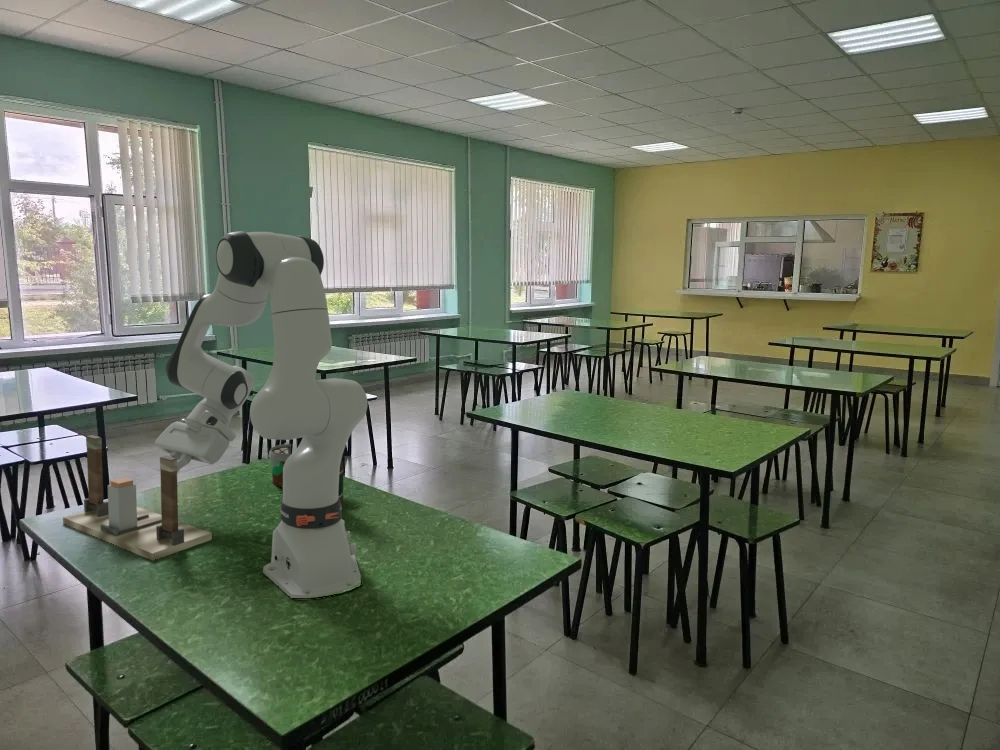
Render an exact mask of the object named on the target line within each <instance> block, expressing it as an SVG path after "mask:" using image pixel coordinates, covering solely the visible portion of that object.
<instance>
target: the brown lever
mask: <svg viewBox="0 0 1000 750" xmlns="http://www.w3.org/2000/svg"><path fill="white" fill-rule="evenodd" d="M177 461H178V460H177V459H176V458H173V457H170V455H164V456H160V457H159V469H160V470H159V471H160V501H161V502H160V503H161V504H160V505H161V507H160V509H161V510H160V511H161V514H160V515H161V516H162V529H163V530H162V531H161V535H162V536H163V537H166V538H169V539H171V532H172V531H175V530H178V521H179V509H178V508H179V504H178V502H179V500H178V496H179V495H178V473H177Z"/></svg>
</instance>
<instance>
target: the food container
mask: <svg viewBox="0 0 1000 750" xmlns="http://www.w3.org/2000/svg"><path fill="white" fill-rule="evenodd" d="M291 451H292V444H291V443H285V444H284V443H283V444H278V445H275V446H272V447H271V448H270V450H269V452H268V456H267V457H268V459H270V464H271V477H272V484H274V486H275V485H277V486H276V487H278V486H283V467H284V464H285V462H286V460H287V459H288V457H289V456H290V455H291V454H292V452H291Z"/></svg>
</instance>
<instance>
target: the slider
mask: <svg viewBox="0 0 1000 750" xmlns="http://www.w3.org/2000/svg"><path fill="white" fill-rule="evenodd" d="M109 483H110V484H108V485H107V502H108V510H109V527H111V528H114V529H117V530H119V532H120V531H123V530H127V529H130V528H133V527H137V507H138V502H137V501H138V500H137V484H135V483H134V480H133V479H131V478H127V477H121V478H116V479H113V480H110V481H109Z"/></svg>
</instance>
